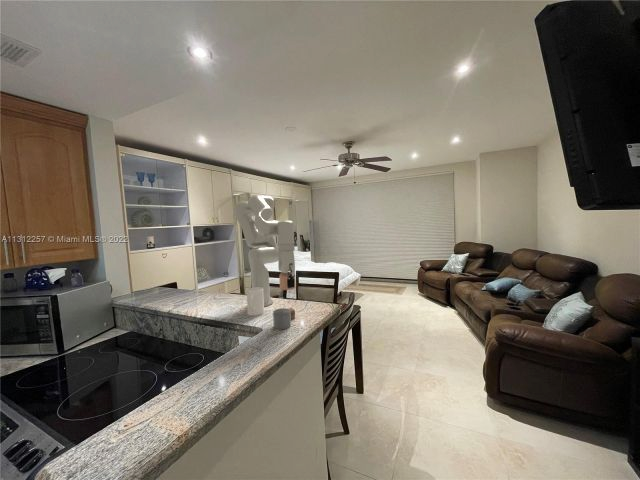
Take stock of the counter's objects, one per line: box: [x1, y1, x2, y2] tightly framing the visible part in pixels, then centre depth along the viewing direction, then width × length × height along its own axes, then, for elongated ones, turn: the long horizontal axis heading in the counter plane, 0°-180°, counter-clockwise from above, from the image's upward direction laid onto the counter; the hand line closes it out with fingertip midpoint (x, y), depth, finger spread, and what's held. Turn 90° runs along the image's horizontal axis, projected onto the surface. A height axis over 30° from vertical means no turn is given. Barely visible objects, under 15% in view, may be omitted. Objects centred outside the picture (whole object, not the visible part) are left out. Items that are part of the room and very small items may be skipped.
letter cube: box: [287, 307, 296, 320], centre depth 118 cm, size 4×4×4 cm
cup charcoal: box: [272, 307, 292, 330], centre depth 109 cm, size 7×7×6 cm
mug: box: [246, 287, 266, 317], centre depth 125 cm, size 12×8×12 cm
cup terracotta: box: [278, 272, 297, 291], centre depth 117 cm, size 7×7×6 cm
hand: (287, 285), depth 117 cm, fingers closed on cup terracotta, 7 cm apart
